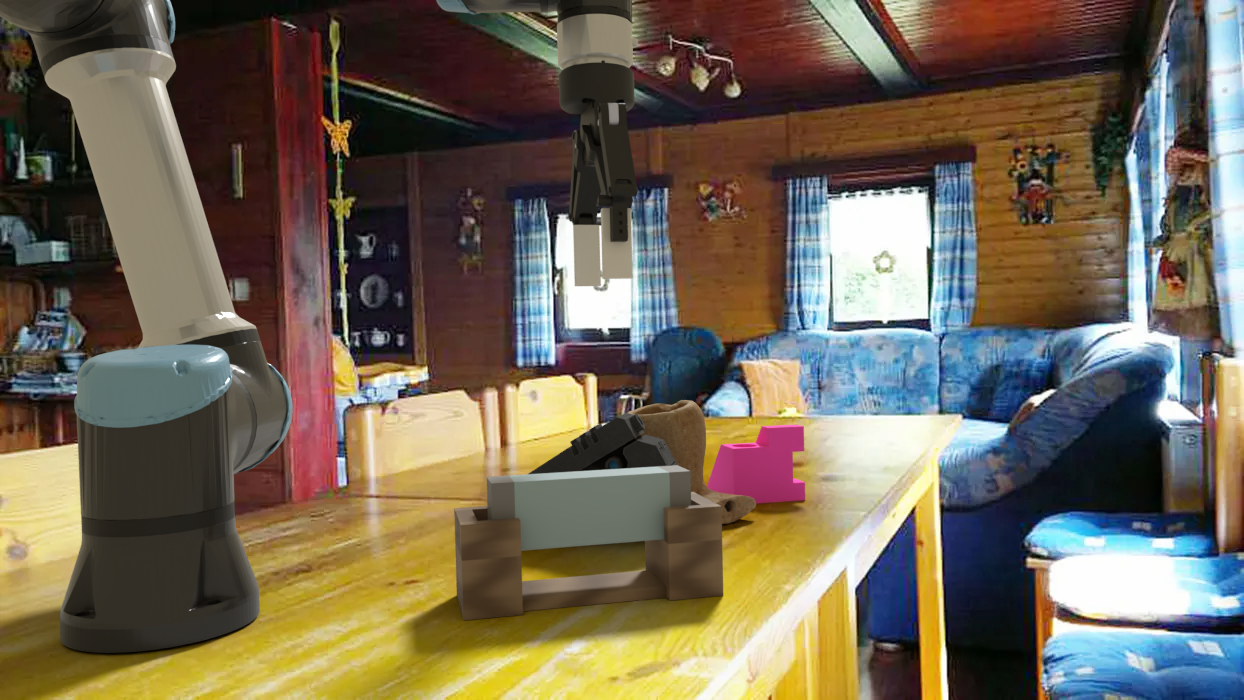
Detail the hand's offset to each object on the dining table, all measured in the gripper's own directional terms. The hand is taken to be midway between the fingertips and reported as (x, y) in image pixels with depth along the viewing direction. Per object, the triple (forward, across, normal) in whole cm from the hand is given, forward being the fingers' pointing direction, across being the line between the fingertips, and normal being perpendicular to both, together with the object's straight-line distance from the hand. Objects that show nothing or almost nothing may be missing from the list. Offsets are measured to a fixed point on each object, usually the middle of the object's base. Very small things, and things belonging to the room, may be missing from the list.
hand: (601, 283), depth 95 cm
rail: (+24, -9, +4) cm, 26 cm away
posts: (+29, -9, +4) cm, 30 cm away
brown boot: (+29, +20, -14) cm, 38 cm away
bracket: (+29, +33, -29) cm, 53 cm away
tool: (+29, +12, -2) cm, 31 cm away
